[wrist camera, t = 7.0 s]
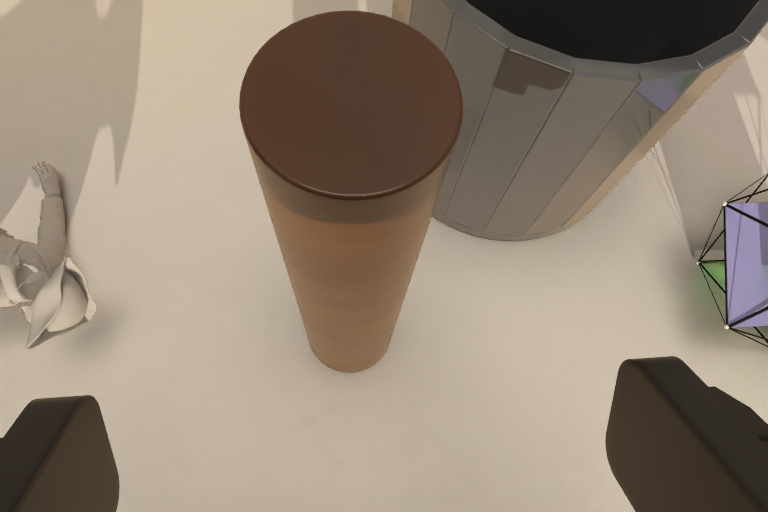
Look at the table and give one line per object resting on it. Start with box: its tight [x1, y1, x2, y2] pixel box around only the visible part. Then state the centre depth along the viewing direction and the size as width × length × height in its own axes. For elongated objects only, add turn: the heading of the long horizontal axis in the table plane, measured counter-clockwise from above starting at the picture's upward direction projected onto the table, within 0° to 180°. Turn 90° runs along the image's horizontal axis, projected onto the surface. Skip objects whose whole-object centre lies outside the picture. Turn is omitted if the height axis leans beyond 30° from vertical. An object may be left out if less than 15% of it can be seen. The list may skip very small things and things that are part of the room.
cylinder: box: [239, 11, 463, 372], centre depth 14 cm, size 3×3×14 cm
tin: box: [392, 0, 768, 241], centre depth 19 cm, size 10×10×10 cm
